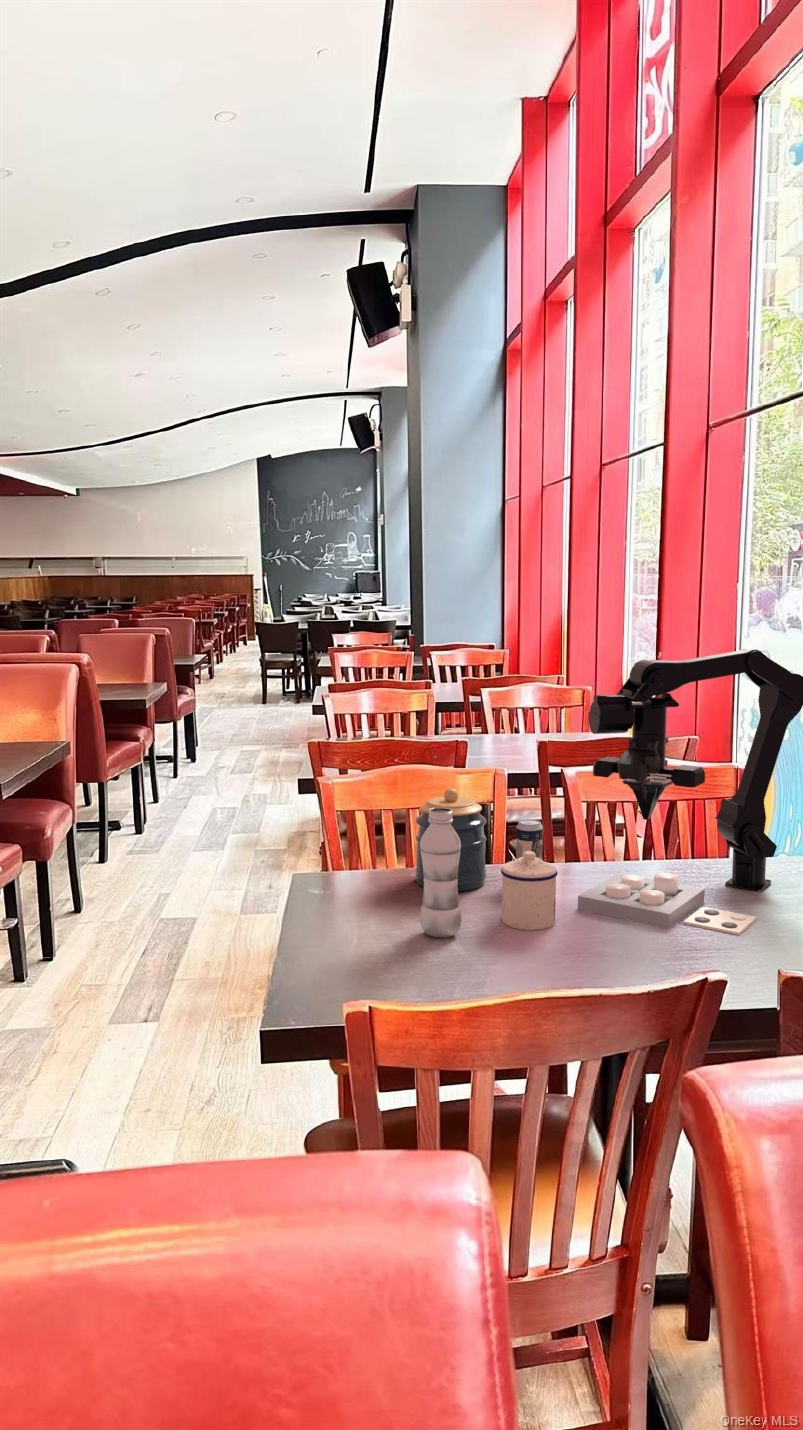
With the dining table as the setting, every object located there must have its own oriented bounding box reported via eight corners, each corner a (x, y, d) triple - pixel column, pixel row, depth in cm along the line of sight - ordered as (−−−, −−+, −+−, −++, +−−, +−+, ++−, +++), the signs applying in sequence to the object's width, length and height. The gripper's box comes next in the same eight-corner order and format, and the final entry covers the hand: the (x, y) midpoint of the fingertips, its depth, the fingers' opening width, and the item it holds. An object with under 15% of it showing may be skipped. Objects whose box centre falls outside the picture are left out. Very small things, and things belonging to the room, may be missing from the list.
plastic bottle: (433, 945, 152) (433, 817, 149) (412, 931, 158) (412, 808, 155) (469, 938, 155) (470, 812, 152) (447, 925, 160) (447, 803, 158)
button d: (644, 906, 168) (645, 888, 168) (667, 911, 166) (668, 892, 165) (635, 913, 165) (635, 894, 164) (658, 917, 162) (658, 898, 162)
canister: (401, 883, 183) (400, 789, 181) (446, 868, 193) (446, 778, 190) (455, 898, 174) (455, 799, 172) (500, 881, 184) (501, 787, 181)
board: (617, 886, 180) (617, 873, 180) (704, 902, 171) (704, 889, 171) (577, 909, 168) (577, 895, 167) (669, 928, 158) (669, 914, 158)
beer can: (541, 891, 178) (542, 825, 176) (514, 889, 179) (515, 824, 177) (542, 883, 182) (543, 819, 181) (516, 882, 183) (517, 818, 182)
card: (702, 909, 168) (702, 905, 168) (756, 919, 162) (757, 916, 162) (683, 923, 160) (683, 920, 160) (739, 935, 155) (739, 931, 155)
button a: (626, 891, 176) (626, 874, 176) (647, 895, 174) (648, 877, 173) (616, 897, 173) (617, 879, 173) (638, 901, 171) (638, 883, 170)
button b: (658, 889, 173) (659, 871, 172) (681, 893, 170) (681, 875, 170) (649, 895, 169) (650, 877, 169) (672, 899, 167) (672, 881, 167)
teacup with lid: (567, 926, 159) (569, 856, 158) (518, 935, 156) (519, 863, 154) (528, 904, 170) (529, 838, 169) (481, 912, 167) (482, 844, 165)
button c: (611, 900, 171) (612, 882, 171) (633, 904, 169) (634, 886, 169) (601, 906, 168) (602, 887, 168) (623, 910, 166) (624, 892, 166)
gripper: (579, 733, 173) (578, 821, 175) (683, 743, 162) (680, 836, 164) (607, 726, 182) (605, 809, 184) (707, 734, 171) (704, 823, 173)
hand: (646, 819), depth 176 cm, fingers closed
